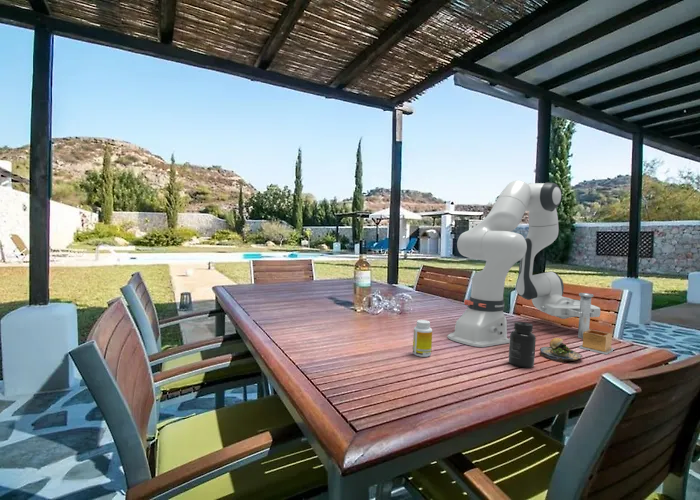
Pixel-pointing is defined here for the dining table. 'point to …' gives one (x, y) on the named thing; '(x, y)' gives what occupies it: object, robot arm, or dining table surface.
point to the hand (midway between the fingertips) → (586, 314)
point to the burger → (559, 351)
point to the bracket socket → (597, 341)
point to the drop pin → (584, 313)
